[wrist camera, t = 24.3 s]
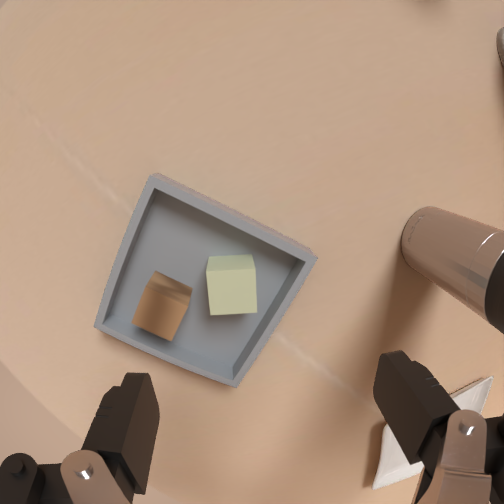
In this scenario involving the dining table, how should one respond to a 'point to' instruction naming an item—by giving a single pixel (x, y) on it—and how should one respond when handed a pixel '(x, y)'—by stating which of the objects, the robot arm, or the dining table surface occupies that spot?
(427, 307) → the dining table surface
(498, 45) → the webcam
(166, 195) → the tray
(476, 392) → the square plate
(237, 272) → the sage block
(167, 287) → the walnut block
